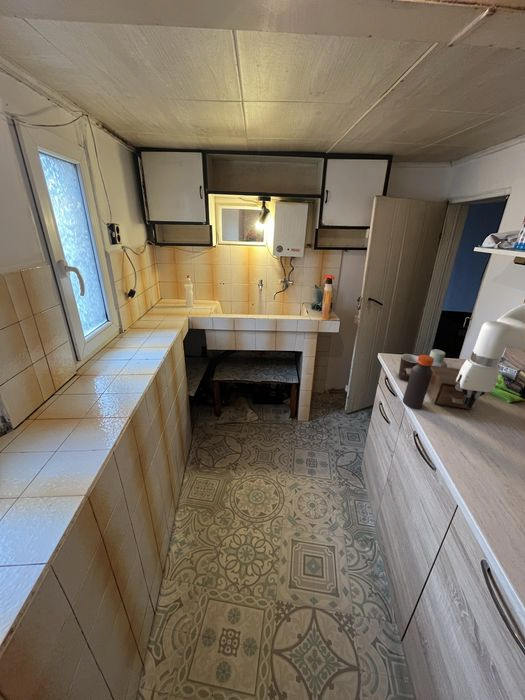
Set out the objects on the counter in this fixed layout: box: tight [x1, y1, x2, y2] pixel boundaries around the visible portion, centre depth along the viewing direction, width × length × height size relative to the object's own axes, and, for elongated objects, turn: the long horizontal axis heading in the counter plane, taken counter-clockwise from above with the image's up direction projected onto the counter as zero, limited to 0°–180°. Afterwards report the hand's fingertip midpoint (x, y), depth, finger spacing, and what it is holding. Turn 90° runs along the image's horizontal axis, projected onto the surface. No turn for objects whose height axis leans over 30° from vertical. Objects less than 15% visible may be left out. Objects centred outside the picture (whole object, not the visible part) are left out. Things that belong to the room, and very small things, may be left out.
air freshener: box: [429, 348, 448, 368], centre depth 133 cm, size 11×8×10 cm
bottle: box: [402, 354, 434, 409], centre depth 105 cm, size 7×7×20 cm
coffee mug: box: [398, 353, 419, 383], centre depth 124 cm, size 12×9×10 cm
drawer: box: [437, 385, 473, 410], centre depth 109 cm, size 18×11×8 cm, turn 166°
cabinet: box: [427, 366, 468, 410], centre depth 113 cm, size 15×13×10 cm
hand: (466, 405), depth 99 cm, fingers closed
